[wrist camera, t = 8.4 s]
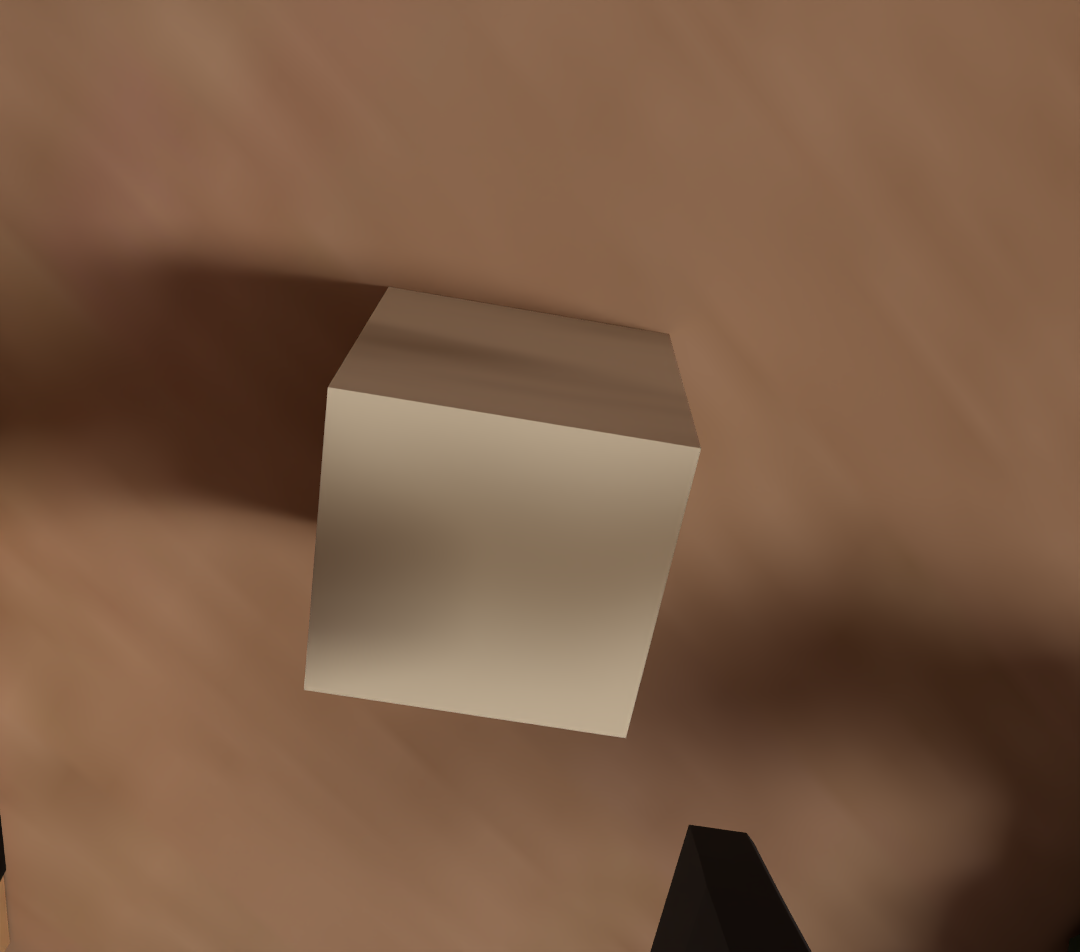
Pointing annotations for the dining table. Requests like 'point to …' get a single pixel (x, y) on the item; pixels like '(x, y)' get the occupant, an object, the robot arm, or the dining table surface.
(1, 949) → the light wood open box
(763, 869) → the robot arm
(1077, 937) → the toy figurine
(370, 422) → the beech cube
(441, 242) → the dining table surface
